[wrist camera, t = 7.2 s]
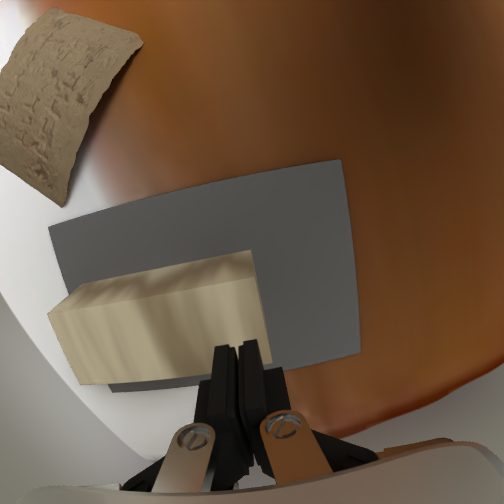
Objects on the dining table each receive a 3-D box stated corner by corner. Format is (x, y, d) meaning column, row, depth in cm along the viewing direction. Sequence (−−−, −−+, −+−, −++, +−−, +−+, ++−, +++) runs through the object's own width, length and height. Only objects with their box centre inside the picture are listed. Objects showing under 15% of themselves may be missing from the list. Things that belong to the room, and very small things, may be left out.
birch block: (254, 276, 15) (47, 314, 15) (272, 362, 16) (80, 384, 16) (250, 249, 20) (82, 284, 20) (265, 320, 21) (105, 345, 21)
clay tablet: (59, 4, 15) (43, -8, 12) (160, 30, 17) (150, 14, 14) (-15, 167, 18) (-36, 169, 16) (68, 218, 20) (49, 225, 17)
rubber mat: (338, 159, 19) (340, 159, 18) (359, 349, 23) (360, 352, 22) (50, 226, 19) (48, 227, 19) (113, 389, 23) (112, 392, 22)
